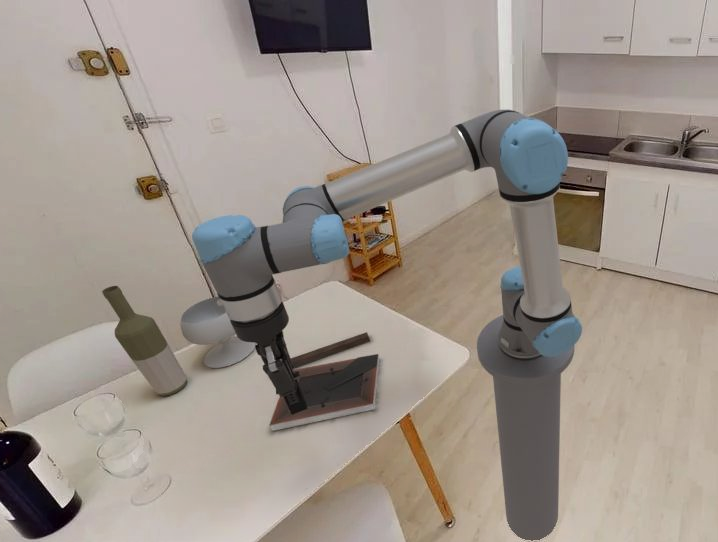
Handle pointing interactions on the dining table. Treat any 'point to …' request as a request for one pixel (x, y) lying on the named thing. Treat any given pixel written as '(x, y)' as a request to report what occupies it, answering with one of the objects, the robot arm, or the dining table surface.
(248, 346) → the chalice
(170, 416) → the dining table surface
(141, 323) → the bottle
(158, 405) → the dining table surface
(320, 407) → the picture frame
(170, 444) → the dining table surface
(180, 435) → the dining table surface
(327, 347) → the walnut rail
